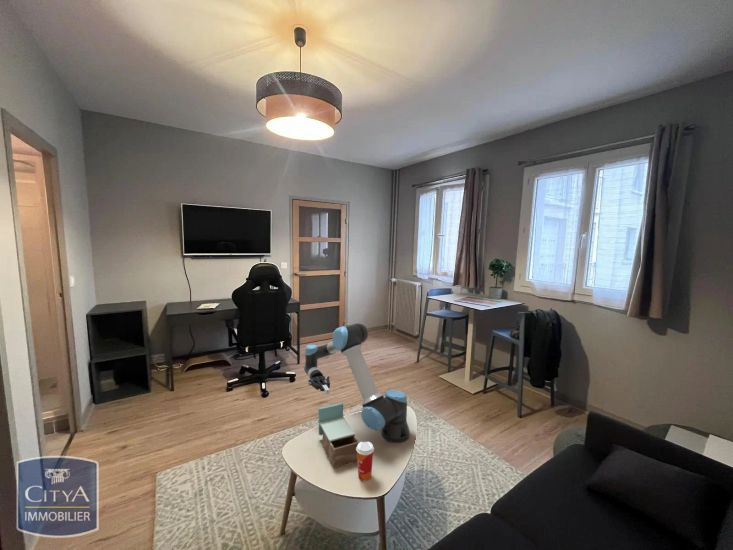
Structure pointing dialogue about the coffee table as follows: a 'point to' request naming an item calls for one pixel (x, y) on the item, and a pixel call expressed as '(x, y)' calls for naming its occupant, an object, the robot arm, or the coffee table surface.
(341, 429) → the teal l-shaped piece
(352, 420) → the coffee table surface
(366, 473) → the pill bottle
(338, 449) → the walnut box
